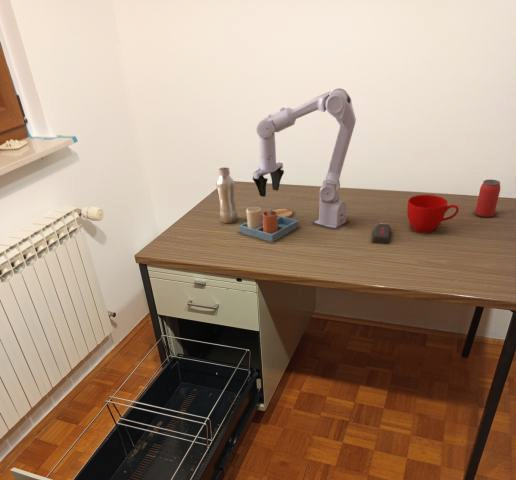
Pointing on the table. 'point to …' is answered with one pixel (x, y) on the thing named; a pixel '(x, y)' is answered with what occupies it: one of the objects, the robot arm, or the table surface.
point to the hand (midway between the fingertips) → (269, 193)
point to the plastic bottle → (226, 196)
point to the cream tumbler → (254, 217)
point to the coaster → (283, 212)
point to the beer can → (488, 198)
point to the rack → (283, 228)
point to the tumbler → (270, 222)
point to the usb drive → (381, 233)
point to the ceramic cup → (427, 212)
